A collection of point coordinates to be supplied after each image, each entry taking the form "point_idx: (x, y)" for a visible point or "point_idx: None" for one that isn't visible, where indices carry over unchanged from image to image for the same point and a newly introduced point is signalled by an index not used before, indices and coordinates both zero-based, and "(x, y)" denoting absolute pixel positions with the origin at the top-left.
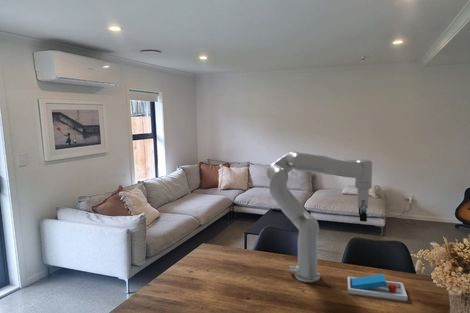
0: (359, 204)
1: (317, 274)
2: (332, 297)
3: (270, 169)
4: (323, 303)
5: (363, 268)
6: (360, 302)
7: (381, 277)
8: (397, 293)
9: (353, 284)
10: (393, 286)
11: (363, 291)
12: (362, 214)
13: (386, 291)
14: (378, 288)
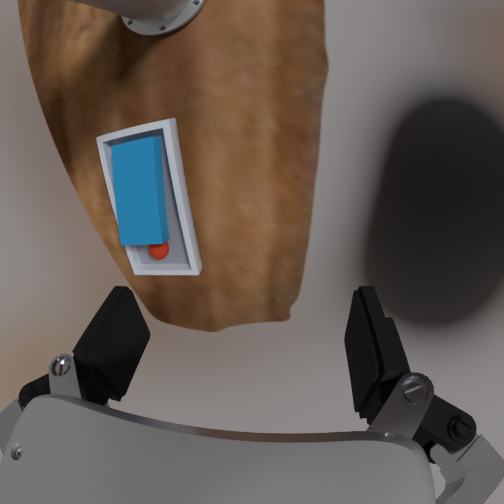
0: (17, 449)
1: (168, 21)
2: (77, 102)
3: None
4: (52, 94)
5: (299, 166)
6: (86, 170)
7: (142, 235)
8: None
9: (116, 148)
10: (150, 254)
11: (105, 177)
12: (77, 361)
13: None
14: None
